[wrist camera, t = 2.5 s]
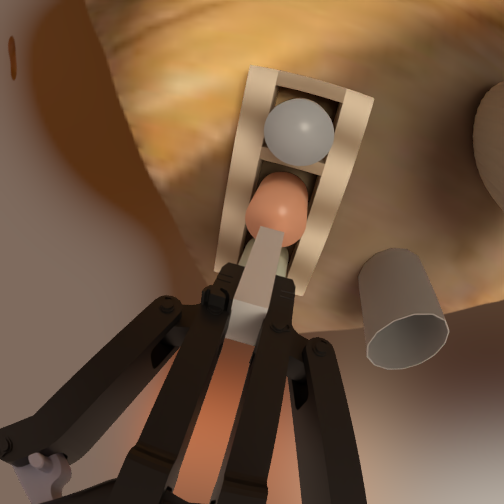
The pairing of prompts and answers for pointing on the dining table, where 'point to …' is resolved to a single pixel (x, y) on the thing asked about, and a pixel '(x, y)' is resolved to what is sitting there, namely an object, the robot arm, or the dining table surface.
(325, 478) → the robot arm
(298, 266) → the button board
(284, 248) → the pale green egg
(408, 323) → the cup
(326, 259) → the dining table surface
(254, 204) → the brown egg
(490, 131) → the canister
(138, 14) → the dining table surface
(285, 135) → the grey egg
